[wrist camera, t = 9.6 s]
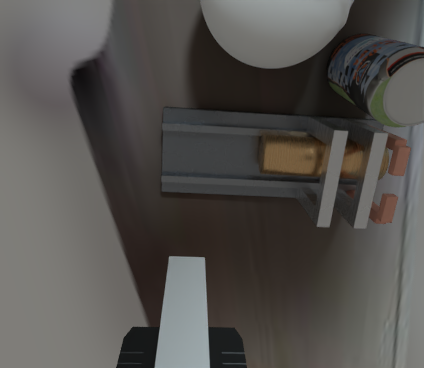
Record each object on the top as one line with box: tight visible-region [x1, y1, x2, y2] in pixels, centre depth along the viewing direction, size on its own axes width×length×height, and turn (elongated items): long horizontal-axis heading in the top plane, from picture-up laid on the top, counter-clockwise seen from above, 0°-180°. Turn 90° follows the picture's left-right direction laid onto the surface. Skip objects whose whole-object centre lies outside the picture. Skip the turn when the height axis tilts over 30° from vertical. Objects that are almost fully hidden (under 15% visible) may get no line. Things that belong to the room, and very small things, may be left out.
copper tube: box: [258, 134, 389, 180], centre depth 36 cm, size 12×4×4 cm, turn 86°
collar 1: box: [296, 117, 348, 227], centre depth 35 cm, size 9×1×7 cm, turn 176°
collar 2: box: [334, 119, 388, 229], centre depth 35 cm, size 9×1×7 cm, turn 176°
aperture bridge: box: [346, 125, 411, 224], centre depth 35 cm, size 8×1×8 cm, turn 176°
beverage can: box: [327, 34, 424, 127], centre depth 31 cm, size 6×7×12 cm
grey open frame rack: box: [161, 107, 384, 198], centre depth 38 cm, size 9×23×2 cm, turn 86°
